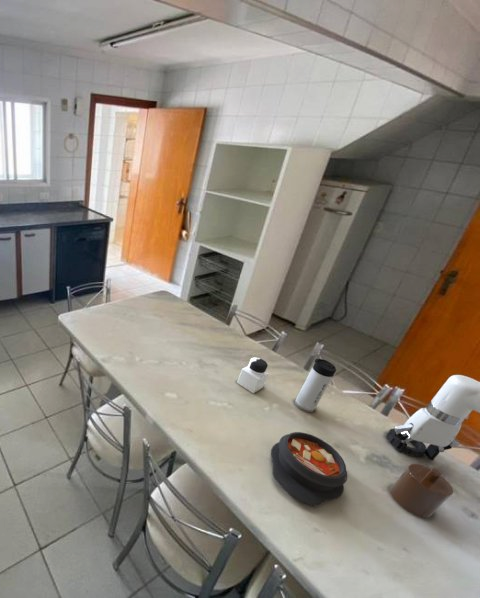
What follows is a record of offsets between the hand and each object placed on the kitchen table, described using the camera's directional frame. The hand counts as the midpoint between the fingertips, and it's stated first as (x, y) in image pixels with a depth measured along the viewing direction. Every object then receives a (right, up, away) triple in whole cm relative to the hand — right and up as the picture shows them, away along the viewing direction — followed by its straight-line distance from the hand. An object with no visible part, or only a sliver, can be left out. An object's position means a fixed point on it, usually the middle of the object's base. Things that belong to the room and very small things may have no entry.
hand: (412, 452), depth 105 cm
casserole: (-41, -2, -8) cm, 42 cm away
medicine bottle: (-40, +15, +25) cm, 49 cm away
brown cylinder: (-15, -7, -14) cm, 22 cm away
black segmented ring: (+1, +1, +4) cm, 4 cm away
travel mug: (-24, +9, +17) cm, 30 cm away
